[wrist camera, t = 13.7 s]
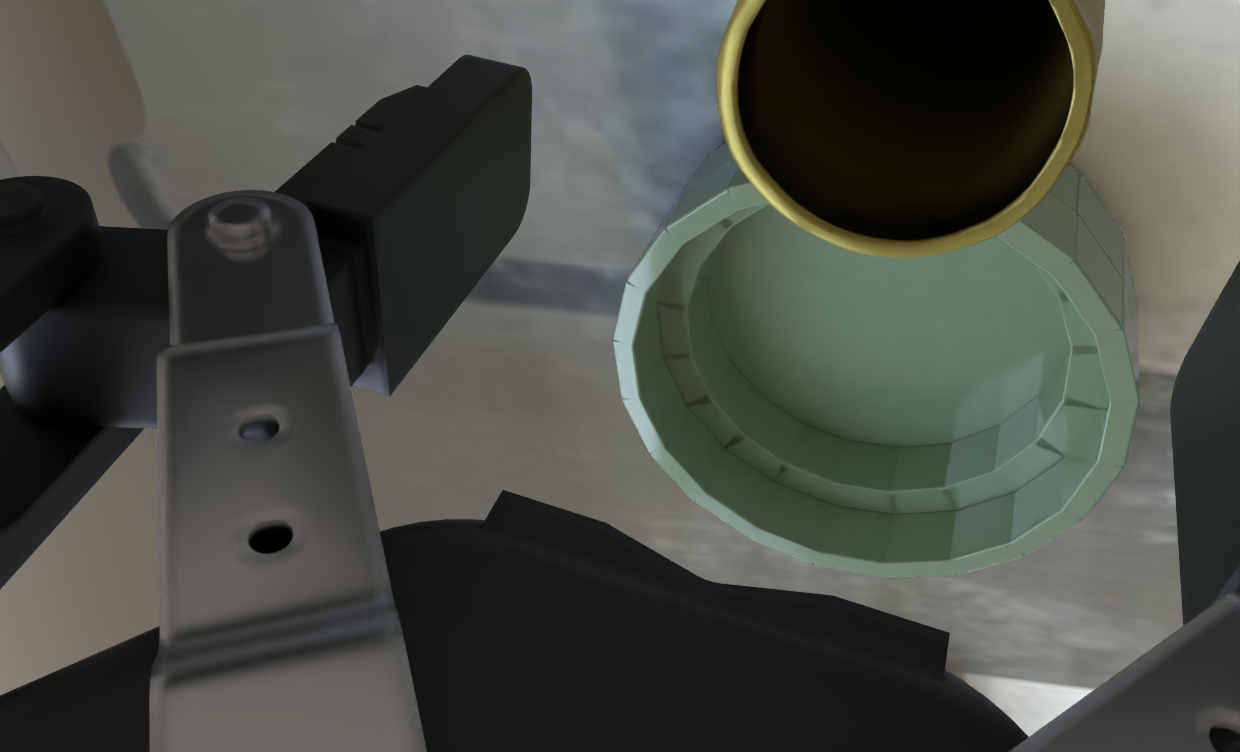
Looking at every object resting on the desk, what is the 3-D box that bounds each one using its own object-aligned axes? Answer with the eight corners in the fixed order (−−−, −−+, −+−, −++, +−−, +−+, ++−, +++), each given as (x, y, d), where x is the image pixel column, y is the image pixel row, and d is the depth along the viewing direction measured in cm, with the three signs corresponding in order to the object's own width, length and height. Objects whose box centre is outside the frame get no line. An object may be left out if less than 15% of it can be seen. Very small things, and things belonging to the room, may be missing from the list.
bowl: (597, 154, 34) (535, 233, 31) (1080, 19, 27) (1074, 103, 23) (751, 487, 41) (716, 584, 37) (1170, 452, 34) (1177, 569, 30)
